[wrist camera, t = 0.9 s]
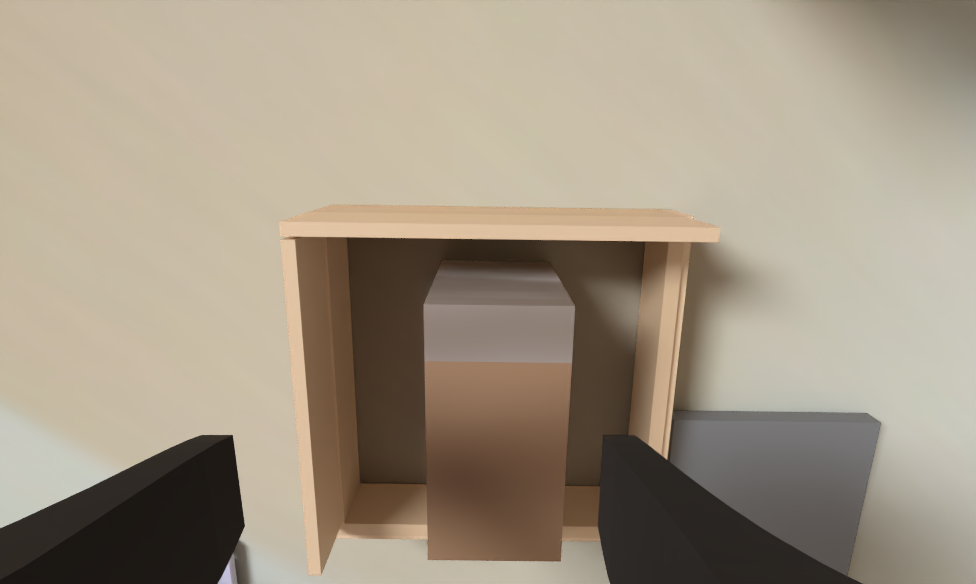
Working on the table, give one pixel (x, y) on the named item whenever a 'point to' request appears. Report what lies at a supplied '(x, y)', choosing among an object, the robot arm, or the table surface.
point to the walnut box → (497, 410)
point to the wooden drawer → (330, 366)
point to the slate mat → (784, 472)
